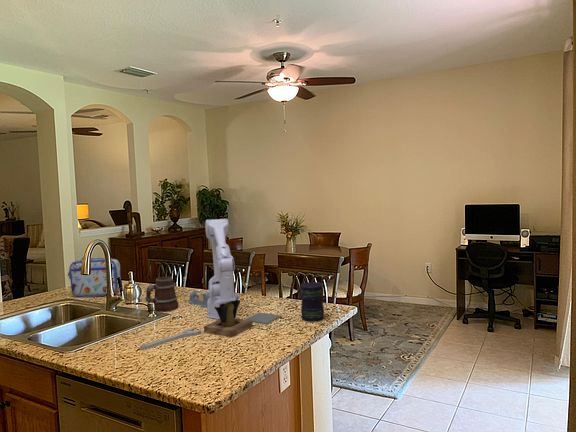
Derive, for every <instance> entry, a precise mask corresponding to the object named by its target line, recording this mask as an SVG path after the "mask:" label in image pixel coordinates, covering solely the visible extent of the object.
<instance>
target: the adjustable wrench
mask: <svg viewBox="0 0 576 432" xmlns="http://www.w3.org/2000/svg"><path fill="white" fill-rule="evenodd" d="M201 333H202V329H201V328H199V329H197V330H195V327H189V328H187V329H183V330H182V331H181V332H179V333H177V334H174V335H169V336H166V337H164V338H161V339H156V340H153V341H150V342H146V343H143V344H140V345H139V350H141V351H144V350H148V349H150V348H154V347H157V346H160V345H163V344H167V343H169V342H173V341H175V340H179V339H180V340H181V339H182V338H188V337H194V336H199V335H200V334H201Z"/></svg>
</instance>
